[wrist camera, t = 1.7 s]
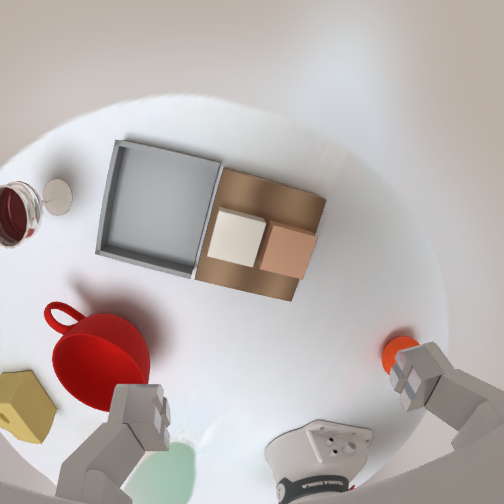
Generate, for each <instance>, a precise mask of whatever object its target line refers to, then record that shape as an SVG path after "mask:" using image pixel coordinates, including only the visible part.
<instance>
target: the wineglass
mask: <svg viewBox="0 0 504 504" xmlns="http://www.w3.org/2000/svg"><path fill="white" fill-rule="evenodd" d="M71 203H72V192H71V189H70V187H69V186H68V184H67V183H66V182H64V181H63V180H60V179H54V180H52V181H50V182H49V183H48V184H47V185H46V186H45V188H44V191H43V200H41V199H40V196H39V195H38V193H37V191H36V190H35V189H34V188H33V187H32V186H30V185H29V184H26V183H23V182H21V181H16V182H10V183H8V184H7V185H0V245H1V246H3V247H5V248H15V247H17V246H19V245H20V244H21V243H24V242H27V241H29V240H30V239H31V238H32V237H33V236H34V235H35V234H36V233H37V232H38V229H39V227H40V225H41V223H42V218H43V205H45V207H46V209H47V210H48V211H49V212H50V213H51V214H53V215H56V216H57V215H63V214H65V213H66V212H67V211H68V210H69V208H70V206H71Z"/></svg>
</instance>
